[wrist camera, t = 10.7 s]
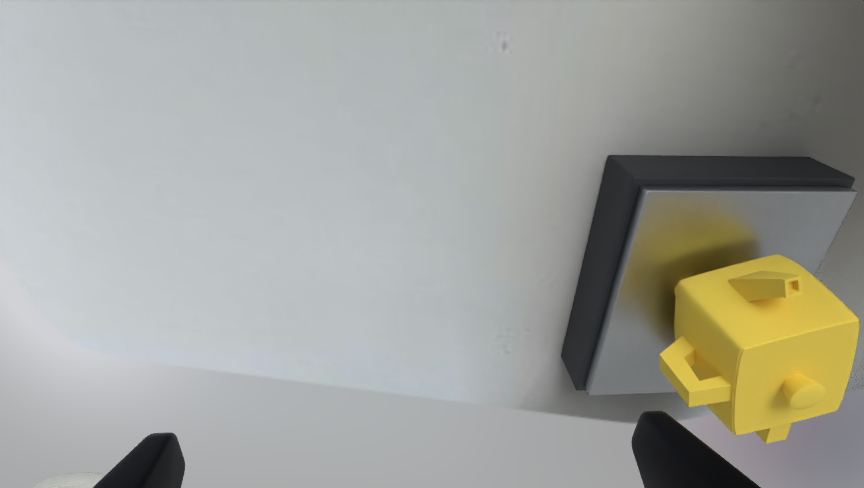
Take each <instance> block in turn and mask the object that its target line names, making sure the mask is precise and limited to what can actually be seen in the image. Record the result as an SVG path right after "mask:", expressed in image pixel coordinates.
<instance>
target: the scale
mask: <svg viewBox="0 0 864 488" xmlns="http://www.w3.org/2000/svg"><path fill="white" fill-rule="evenodd" d="M854 181H855V178H853V177H851V176H849V175H847V174H845V173H843V172H840V171H838V170H836V169H834V168H832V167H830V166H827V165H825V164H823V163H821V162H819V161H817V160H814V159H812V158H810V157H738V156H643V155H609V156H608V158H607V163H606V167H605V171H604V176H603V180H602V184H601V188H600V193H599V197H598V201H597V205H596V210H595V214H594V218H593V223H592V227H591V231H590V235H589V240H588V244H587V248H586V252H585V257H584V261H583V265H582V269H581V274H580V278H579V282H578V287H577V291H576V295H575V299H574V304H573V308H572V312H571V316H570V321H569V325H568V329H567V333H566V338H565V342H564V346H563V351H562V355H561V357H562V359H563V361H564V364H565V366H566V368H567V370H568V372H569V375H570V377H571V379H572V381H573V383H574V386H575V388H576V390H586V391H587V393H588V395H589V396H591V395H616V394H641V393H666V392H677V391H676V390H675V388H674V387H673V386H672V384H671V383H670V382H669V380H668V379H667V378H666V376H665V375H664V374H663V372H662V371H661V370H660V356H659V354H660V353H662V352H663V351H664V350H665V349H667V348H668V347H669V346H670V345H672V344H673V343H674V342H675V332H674V318H675V301H676V295H675V292H674V291H675V287H676V286H677V284H678V283H679V281H680V280H683V279H685V278H689V277H692V276H695V275H699V274H702V273H706V272H709V271H713V270H717V269H720V268H724V267H727V266H731V265H735V264H739V263H743V262H747V261H751V260H754V259H758V258H762V257H767V256H771V255H776V254H779V255H782V256H784V257H786V258H788V259H790V260H792V261H794V262H796V263H797V264H799V265H800V266H801V267H803V268H804V269H805V270H807V271H808V272H809V273H810V274H812V275H813V276H815V274H816V272H817V270H818V268H819V266H820V264H821V262H822V260H823V258H824V256H825V255H826V253H827V251H828V249H829V247H830V245H831V243H832V241H833V239H834V237H835V235H836V234H837V232H838V230H839V228H840V226H841V224H842V222H843V220H844V218H845V216H846V214H847V213H848V211H849V209H850V207H851V205H852V203H853V201H854V199H855V197H856V195H857V193H858V192H857V191H855V190H853V189H851V186H852V185H853V183H854Z"/></svg>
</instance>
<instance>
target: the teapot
mask: <svg viewBox="0 0 864 488" xmlns="http://www.w3.org/2000/svg"><path fill="white" fill-rule="evenodd" d="M674 292H675V295H676V301H675V318H674V332H675V342H674V343H673V344H672V345H670V346H669V347H668V348H667V349H665V350H664V351H663V352H662V353H660V354H659V356H660V370H661V371H662V372H663V374H664V375H665V376H666V378H667V379H668V380H669V382H670V383H671V384H672V386H673V387H674V388H675V390H676V391H677V392H678V394H679V395H680V396H681V398H682V399H683V400H684V401H685V403H686V404H687V405H688V407H693V406H700V405H707V406H708V407H709V408H710V409H711V410H712V411H713V413H714V414H715V415H716V416H717V417H718V418H719V419H720V420H721V421H722V422H723V423H724V424H725V425H726V427H727V428H728V429H729V430H730V431H731V432H733V434H735V435H741V434H745V433H750V432H756V433H757V434H758V435H759V436H760V438H761V439H762V440H763V441H764V442H765V443H766V444H767V443H771V442H775V441H779V440H783V439H786V438H787V435H788V432H789V429H790V426H791V423H793V422H797V421H800V420H804V419H808V418H812V417H816V416H819V415H823V414H827V413H830V412H834V411H836V410H837V409H838V407H839V406H840V403H841V401H842V398H843V396H844V392H845V389H846V386H847V383H848V380H849V376H850V373H851V369H852V365H853V360H854V356H855V351H856V346H857V340H858V334H859V319H858V318H857V317H856V316H855V315H854V314H853V312H852V311H851V310H850V309H849V308H847V307H846V306H845V305H844V304H843V303H842V302H841V301H840V300H839V299H838V298H837V297H836V296H835V295H834V294H833V293H832V292H831V291H830V290H829V289H828V288H827V287H826V286H824V285H823V284H822V283H821V282H820V281H819V280H818V279H816V278H815V277H814V276H813V275H812V274H810V273H809V272H808V271H807V270H805V269H804V268H803V267H801V266H800V265H799V264H797V263H796V262H794V261H792V260H790V259H788V258H786V257H784V256H782V255H779V254H776V255H771V256H767V257H762V258H758V259H754V260H751V261H747V262H743V263H739V264H735V265H731V266H727V267H724V268H720V269H717V270H713V271H709V272H706V273H702V274H699V275H695V276H692V277H689V278H685V279H683V280H680V281H679V283H678V284H677V286H676V287H675V291H674Z"/></svg>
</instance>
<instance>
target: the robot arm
mask: <svg viewBox="0 0 864 488" xmlns="http://www.w3.org/2000/svg"><path fill="white" fill-rule="evenodd" d="M632 449H633V453H634V456H635V459H636V462H637V465H638V468H639V471H640V474H641V478H642V481H643V484H644V487H645V488H761V487H759V486H758V485H757V484H756V483H754V482H753V481H751V480H750V479H749V478H748V477H747V476H745V475H744V474H743V473H742V472H740V471H739V470H738V469H737V468H735V467H734V466H733V465H731V464H730V463H729V462H728V461H726V460H725V459H724V458H722V457H721V456H720V455H719V454H717V453H716V452H715V451H714V450H712V449H711V448H710V447H709V446H707V445H706V444H705V443H704V442H702V441H701V440H699V439H698V438H697V437H696V436H695V435H693V434H692V433H691V432H690V431H688V430H687V429H686V428H685V427H683V426H682V425H681V424H680V423H678V422H677V421H676V420H674V419H673V418H672V417H671V416H669V415H668V414H667V413H665V412H663V411H646V412H643V413H642V414H641V415H640V418H639V420H638V423H637V426H636V428H635V431H634V434H633V437H632ZM184 470H185V462H184V457H183V455H182V452H181V448H180V445H179V442H178V440H177V437H176V435H175V434H174V433H154V434H150V435H149V436H147V437H146V438H145V439H144V440H142V442H140V443H139V444H138V446H136V447H135V448H134V449H133V450H132V451H131V452H130V453H129V454H128V455H127V456H126V457H125V458H124V459H123V460H121V461H120V462H119V463H118V464H117V465H116V466H115V467H114V468H113V469H112V470H111V471H110V472H109V473H108V474H107V475H106V476H104V477H103V478H102V479H101V480H100V481H99V482H98V483H97V484H96V485H95V486H94V487H93V488H181V484H182V480H183V476H184Z"/></svg>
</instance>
